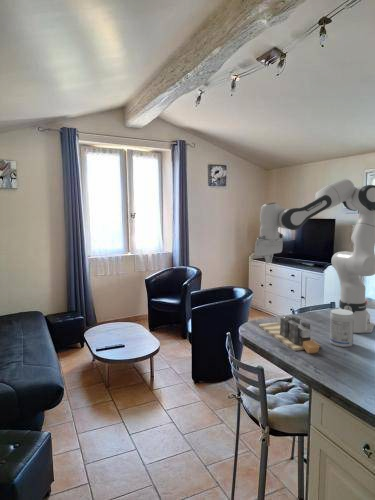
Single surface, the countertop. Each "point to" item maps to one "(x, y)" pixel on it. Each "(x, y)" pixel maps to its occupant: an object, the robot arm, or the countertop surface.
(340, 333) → the supplement tub
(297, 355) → the countertop surface
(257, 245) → the robot arm
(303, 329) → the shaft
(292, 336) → the wooden board
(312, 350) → the orange block
